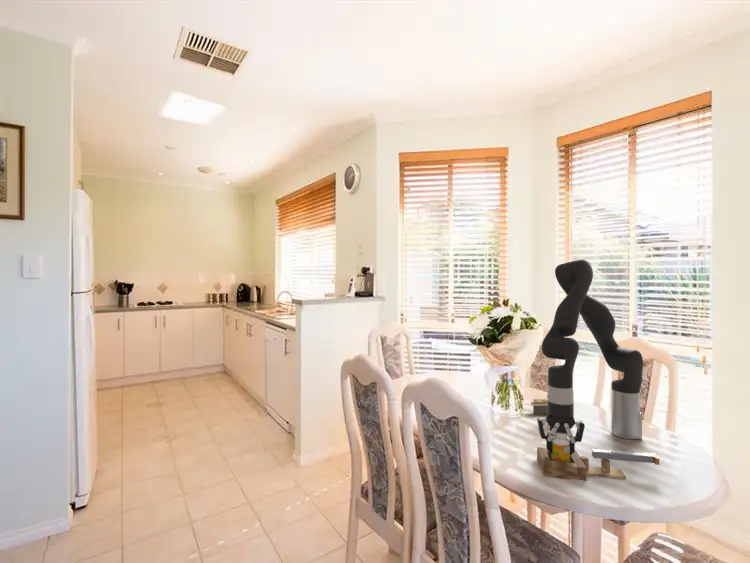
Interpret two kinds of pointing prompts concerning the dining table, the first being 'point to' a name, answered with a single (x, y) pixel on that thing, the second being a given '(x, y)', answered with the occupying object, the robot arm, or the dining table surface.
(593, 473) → the mount
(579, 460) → the socket
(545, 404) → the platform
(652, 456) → the grey bar
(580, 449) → the dining table surface
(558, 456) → the supplement bottle
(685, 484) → the dining table surface
